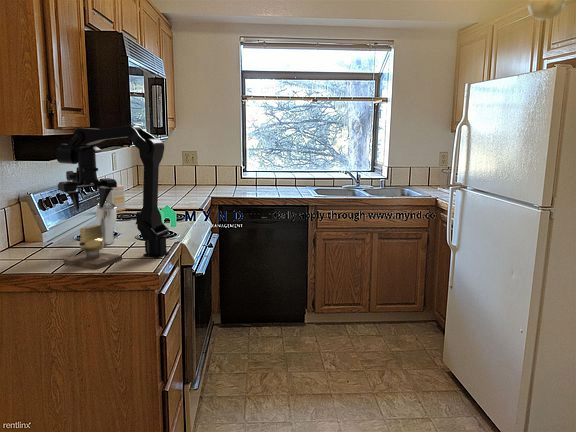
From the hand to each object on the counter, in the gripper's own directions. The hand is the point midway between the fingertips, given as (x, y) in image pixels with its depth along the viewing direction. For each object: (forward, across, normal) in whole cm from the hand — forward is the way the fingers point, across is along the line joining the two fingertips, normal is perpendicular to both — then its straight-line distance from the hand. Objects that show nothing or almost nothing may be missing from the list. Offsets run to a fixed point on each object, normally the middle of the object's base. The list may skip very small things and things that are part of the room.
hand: (89, 209), depth 163 cm
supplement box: (+16, -45, -65) cm, 81 cm away
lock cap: (+10, +8, +15) cm, 20 cm away
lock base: (+14, +7, +15) cm, 22 cm away
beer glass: (+14, -8, -5) cm, 17 cm away
